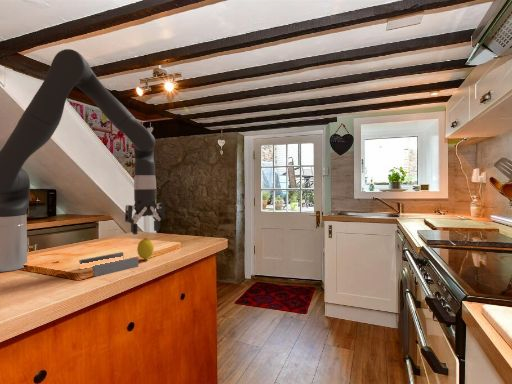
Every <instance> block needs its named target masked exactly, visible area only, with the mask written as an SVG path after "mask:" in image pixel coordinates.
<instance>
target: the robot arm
mask: <svg viewBox="0 0 512 384" xmlns="http://www.w3.org/2000/svg"><path fill="white" fill-rule="evenodd" d="M75 86H76V88H78V89H79V90H81V92H82V93H84V94H85V95H87V97H88V98H89V99H90V100H91V101H93V103H94V104H95V105H96V106H97V108H99V110H100V111H101V112H102V114H103V115H104V117H106V119H108V121H109V122H110V123H111V124H112V125H113V126H114V127H115V128H116V129H117V130H118V131H119V132H120V133H122V134H124V135H125V136H126V137H127V138H128V140H130V142H132V144H133V152H134V167H133V168H134V179H133V200H134V205H131V204H126V205H125V213H124V217H125V218H124V222H125V223H129V224H130V233H132V235H138V221H139V220H140V219H142V217H147V216H148V217H152V218H153V231H154V232H159V231H160V229H161V220H163V219H165V217H166V216H165V215H166V214H165V203H163V202H157V179H156V163H155V157H154V156H155V147H156V139H155V136H154V135H153V133H151V132H150V131H149V129H147V128H146V127H145V126H144V125H142V123H141V122H139V121H138V119H136V117H135V116H134V114H132V113H131V112H130V111H129V109H127V107H126V106H124V104H123V103H122V102H120V101H119V100H118V99H117V98H116V97H115V96H114V95H113V94H112V93H111V92H110V91H109V89H107V88H106V87H105V85H103V83H102V82H101V81H100V80H99V78H98V76H97V75H96V74H95V72H94V71H93V69H92V68H91V66H90V64H89V62H88V61H87V60H86V58H85V57H84V56H83V55H82V54H81V53H80V52H79V51H77V50H74V49H69V48H67V49H61V50H60V51H58V52H57V53H56V54H55V56H54V58H53V59H52V61H51V63H50V66H49V69H48V71H47V73H46V76H45V78H44V79H43V82H42V83H41V86H40V87H39V89H38V90H37V91H36V93H35V95H34V96H33V97H32V100H31V101H30V103H29V104H28V105H27V107H26V109H24V112H23V113H22V115H21V116H20V118H19V120H18V121H17V124H16V126H15V127H14V129H13V130H12V132H11V134H10V135H9V137H8V139H7V140H6V142H5V143H4V145H3V146H2V148H1V149H0V272H1V273H2V272H10V271H16V270H20V269H23V268H25V267H24V266H23V264H25V263H27V264H28V228H27V227H28V226H27V225H28V223H27V222H28V221H27V217H28V216H27V210H28V208H29V205H30V198H31V197H30V195H31V194H30V191H31V182H30V181H31V179H30V176H29V174H28V172H27V171H26V170H25V169H24V168H23V166H24V164H25V163H26V162H27V160H28V159H29V158H30V157H31V156H32V155H33V154H34V153H36V152H37V151H39V149H41V148H42V147H43V146H44V145H46V144H47V142H48V141H49V140H50V139H51V138H52V136H53V135H54V133H55V131H56V130H57V128H58V126H59V125H60V122H61V120H62V117H63V113H64V109H65V104H66V101H67V98H68V96H69V94H70V93H71V91H72V90H73V88H74V87H75ZM156 209H157V211H156ZM133 212H134V213H133Z"/></svg>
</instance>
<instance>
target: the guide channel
mask: <svg viewBox="0 0 512 384" xmlns="http://www.w3.org/2000/svg"><path fill="white" fill-rule="evenodd" d="M121 256H123V257H124V252H123V251H121V252H120V251H119V252H115V253H110V254H104V255H99V256H95V257H88V258H84V259H78V263H80V264H82V263H89V262H93V261H98V260H103V259H109V258H115V257H121ZM136 267H139V257H138V256H136V257H135V256H134V257H129V258H123V260H119V261H115V262H110V263H105V264H100V265H95V266H93V267H92V272H93V271H94V276H93V277H99V276H104V275H107V274H111V273H116V272H119V271H121V272H122V271H125V270H128V269H132V268H136Z"/></svg>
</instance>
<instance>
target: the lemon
mask: <svg viewBox="0 0 512 384" xmlns="http://www.w3.org/2000/svg"><path fill="white" fill-rule="evenodd" d="M136 251H137V255H138V256H139V257H140V258H141V259H144V261H146V260H147V259H148V258H150V257H152V255H153V252H154V244H153V241H152V240H150V239H148V238H146V237H145V238H143V239H141V240H140V241H139V242H138V245H137V250H136Z"/></svg>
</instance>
